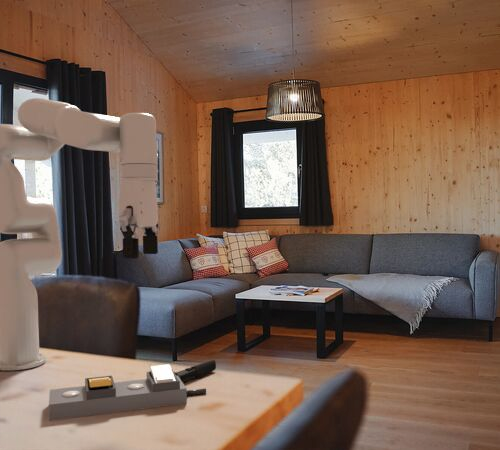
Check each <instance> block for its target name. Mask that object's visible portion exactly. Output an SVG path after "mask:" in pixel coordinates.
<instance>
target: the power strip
mask: <svg viewBox="0 0 500 450" xmlns="http://www.w3.org/2000/svg"><path fill="white" fill-rule="evenodd" d="M171 370H172V372H173V375H174V377H175V380H176V381H170V382H161V383H154V381H153V377H152V374H151V371H150V370H149V371H146V378H144V379H136V380H128V381H127V380H126V381H118V382H117V381H116V382H114V378H113V375H106V376H105V375H104V376H93V377H87V378H84V385H81V386H79V385H78V386H73V387H63V388H52V389H50V390H49V394H48V395H49V399H48V420H49V421H57V420H66V419H74V418H80V417H88V416H89V417H90V416H97V415H104V414H112V413H121V412H128V411H136V410H143V409H152V408H160V407H170V406H176V405H184V404H185V405H186V404H187V403H188V399H187V398H188V396H194V395H195V396H196V395H202V394H203V395H204V394H207V388H198V389H188V390H187V387H186V385H185V383H183V382H182V381H181V379H180V378H179V377H178V376H176V375H175V373H174V372H175V371H174V370H173V369H172V368H171ZM105 377H109V378H110V379H111V382H112V385H108V386H99V387H91V388H90V386H89V379H96V378H105Z"/></svg>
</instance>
